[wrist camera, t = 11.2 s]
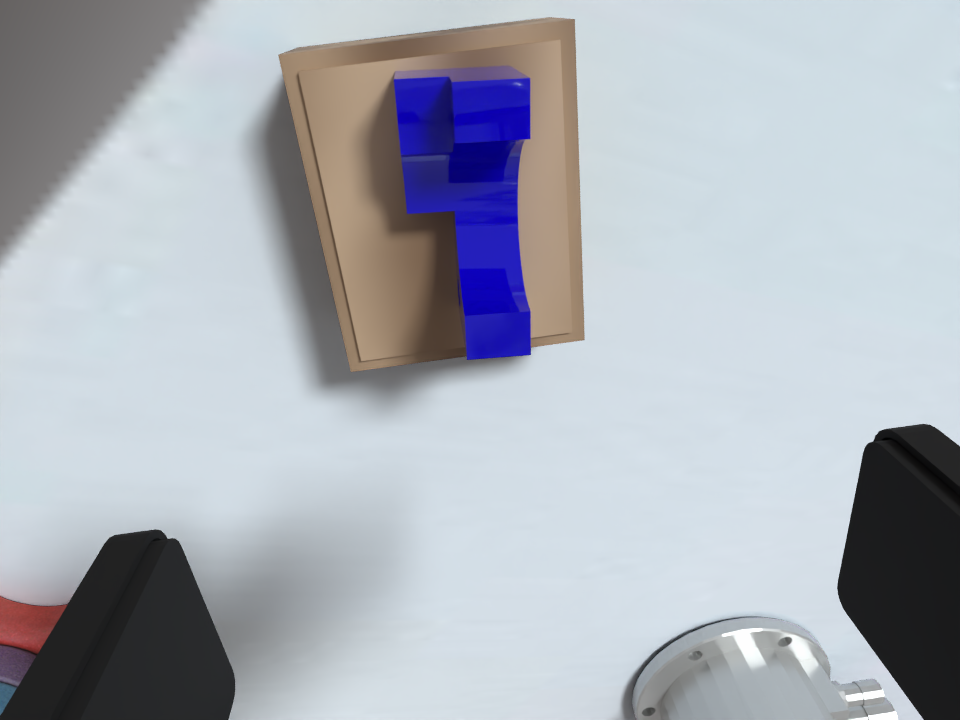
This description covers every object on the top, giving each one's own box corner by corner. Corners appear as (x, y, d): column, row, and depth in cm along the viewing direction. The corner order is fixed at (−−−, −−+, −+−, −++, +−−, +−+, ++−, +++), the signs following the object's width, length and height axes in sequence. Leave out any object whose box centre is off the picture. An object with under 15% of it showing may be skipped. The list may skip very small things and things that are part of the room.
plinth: (549, 17, 24) (575, 19, 20) (563, 299, 29) (585, 342, 25) (297, 47, 23) (276, 55, 20) (357, 326, 28) (350, 374, 25)
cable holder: (395, 70, 20) (392, 85, 17) (509, 65, 20) (530, 78, 17) (417, 310, 24) (418, 363, 20) (512, 304, 24) (530, 354, 21)
